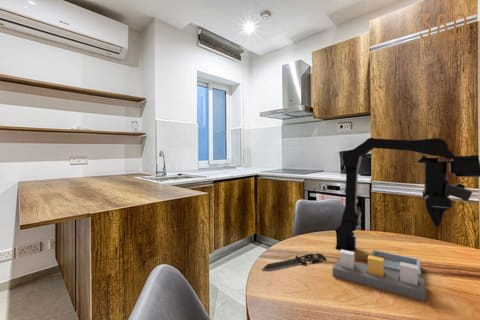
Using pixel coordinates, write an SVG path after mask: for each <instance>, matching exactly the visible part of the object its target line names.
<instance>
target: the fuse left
mask: <svg viewBox="0 0 480 320" xmlns="http://www.w3.org/2000/svg"><path fill="white" fill-rule="evenodd" d="M355 256H356V255H355V251H353V252H352V251H347V250H342V249H340V250H339V258H340V266H341V267H345V268H349V269H353V270H354V269H355V260H356V259H355V258H356V257H355Z"/></svg>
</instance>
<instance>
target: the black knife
mask: <svg viewBox="0 0 480 320" xmlns="http://www.w3.org/2000/svg"><path fill="white" fill-rule="evenodd" d="M309 256H311V257H309ZM305 257H306V258H307V260H303V259H302V258H305ZM312 257H313V258H312ZM300 259H301V260H300ZM308 259H309V260H308ZM320 260H323V261H326V260H327V258H326V257H325V255H323V254H322V253H318V252H317V253H307V254H304V255H301V256H298V255H295V257H294V258H291V259H286V260H281V261H277V262H272V263H268V264H266V265H265V266H264V267H263V268H261V270H260V271H269V272H270V271H271V272H272V271H275V270H280V269H286V268H290V267H295V266H299V265H302V264H303V265H305V264H306V265H307V264H308V263H307V262H311V263H312V264H316V263H319V262H320ZM315 262H316V263H315Z"/></svg>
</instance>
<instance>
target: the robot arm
mask: <svg viewBox="0 0 480 320" xmlns="http://www.w3.org/2000/svg"><path fill="white" fill-rule="evenodd" d="M373 149H380V150H381V149H383V150H397V151H398V150H399V151H409V152H414V153H419V154H423V155H422V156H421V157H420V158H419V159H418V160H417V163H420V164H421V163H423V165H424V167H423V168H424V169H423V171H424V174H423V175H424V178H423V181H424V190H422V199H423V201H424V205H425V206H424V207H425V209H426V211H427V212H428V213H427V214H428V215H429V217H430V219H431V221H432V223H433V225H434V227H436V228H439V227H441V222H442V219H443V216H444V213H445V212H447V211H448V210H450V209H452V208H453V202H452V200H451V199H450V196H451V197H455V198H458V199H461V200H462V201H465V202H468V201H470V198H471V196H472V194H473V191H472V190H470V189H468V188H466V187H465V185H464V184H461V183H459V182H458V183H456V184H451V183H450V180H448V171H449V174H453V177H454V178H455V177H456V178H459V177H460V178H480V159H479V158H480V156H479V154H477V155H475V154H474V155H473V154H472V155H470V154H469V155H455V154H454V153H453V152H452V151H450V150H449V148H448V144H447V142H446V140H444V139H443V138H440V137H439V138H438V137H434V138H433V137H432V138H424V139H415V140H410V139H389V138H388V139H387V138H374V137H369V138H367V139H366V140H365V141H363V142H362V143H361V144H360V145H357V146H356V147H354V148H353V149H349V150H346V151H345V153H343V154H342V155H343V156H342V161H343V166H344V171H345V175H346V176H345V203H344V205H345V206H344V210H343V214H342V217H341V221H340V223H339V224H338V226H337V227H336V228H335V229H334V231H335V233H336V234H335V235H336V238H335V240H336V242H335V243H336V245H335V247H334V248H335V249H338V250H341V249H342V250H347V251H352V252H354V251H355V250H356V248H357V237H356V236H355V231H356V230H357V229H358V227H359V226H360V225H361V223H362V218H361V217H362V213H363V212H362V211H358V206H357V205H358V202H357V201H358V178H359V177H358V175H359V170H360V168H361V164H362V160H363V157H364V156H366V155H367V154H368V153H369V152H371V151H372V150H373ZM425 155H426V156H427V155H428V156H431V157H426V156H425ZM438 156H439V157H441V158H443V159H446V160H439V158H438Z"/></svg>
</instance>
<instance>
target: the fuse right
mask: <svg viewBox="0 0 480 320" xmlns="http://www.w3.org/2000/svg"><path fill="white" fill-rule="evenodd" d="M400 281H401V282H405V283H409V284H413V285H417V286H418V265H414V264H409V263H404V262H400Z"/></svg>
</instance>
